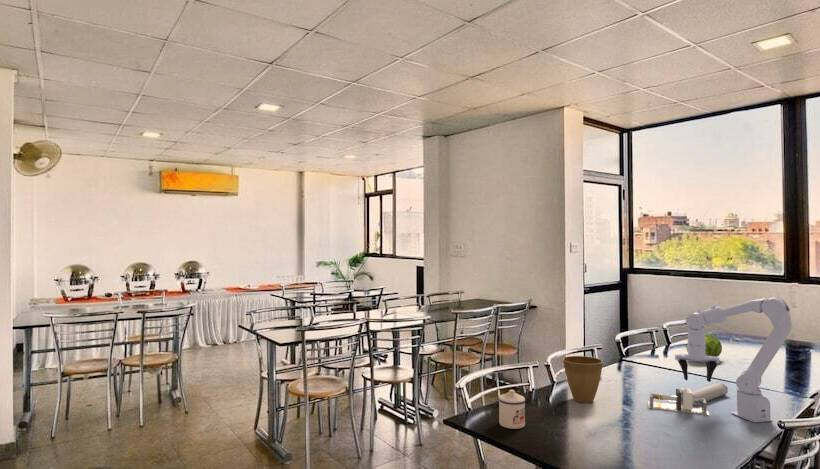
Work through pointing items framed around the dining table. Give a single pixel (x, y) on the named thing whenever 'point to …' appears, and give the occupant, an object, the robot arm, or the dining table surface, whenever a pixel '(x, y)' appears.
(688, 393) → the sleeve
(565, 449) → the dining table surface
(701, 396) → the tube
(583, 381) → the plant pot
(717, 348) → the lettuce
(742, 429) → the dining table surface
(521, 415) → the teacup with lid
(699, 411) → the rod rig
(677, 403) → the dark gray slab
